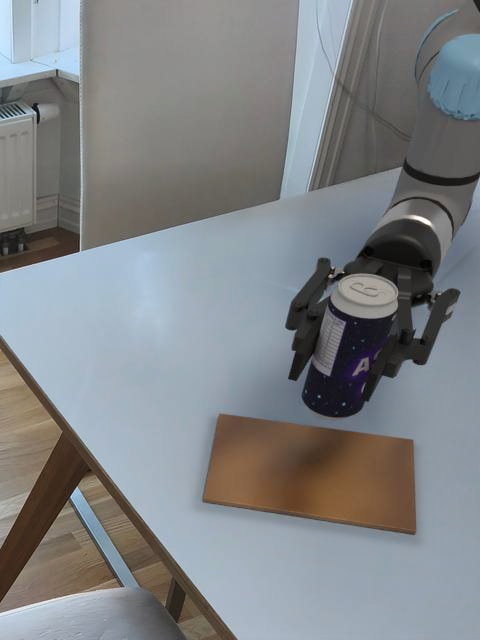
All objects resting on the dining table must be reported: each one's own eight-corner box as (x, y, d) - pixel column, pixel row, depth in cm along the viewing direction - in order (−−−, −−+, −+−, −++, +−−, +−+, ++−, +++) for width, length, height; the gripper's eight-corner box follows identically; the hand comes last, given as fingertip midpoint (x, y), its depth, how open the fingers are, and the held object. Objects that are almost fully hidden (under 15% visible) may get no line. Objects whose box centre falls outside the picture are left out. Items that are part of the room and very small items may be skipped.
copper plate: (412, 443, 92) (413, 439, 91) (414, 534, 83) (416, 530, 83) (218, 416, 96) (219, 413, 95) (202, 501, 87) (203, 498, 87)
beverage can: (339, 433, 81) (380, 314, 71) (287, 407, 83) (320, 288, 74) (372, 406, 83) (416, 287, 74) (321, 381, 86) (357, 264, 77)
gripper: (483, 314, 88) (427, 444, 75) (301, 269, 94) (221, 383, 82) (516, 240, 82) (461, 369, 69) (319, 198, 88) (236, 309, 76)
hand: (331, 376), depth 76 cm, fingers closed on beverage can, 6 cm apart
